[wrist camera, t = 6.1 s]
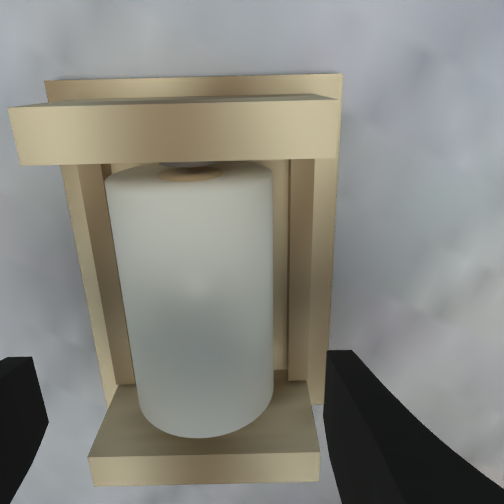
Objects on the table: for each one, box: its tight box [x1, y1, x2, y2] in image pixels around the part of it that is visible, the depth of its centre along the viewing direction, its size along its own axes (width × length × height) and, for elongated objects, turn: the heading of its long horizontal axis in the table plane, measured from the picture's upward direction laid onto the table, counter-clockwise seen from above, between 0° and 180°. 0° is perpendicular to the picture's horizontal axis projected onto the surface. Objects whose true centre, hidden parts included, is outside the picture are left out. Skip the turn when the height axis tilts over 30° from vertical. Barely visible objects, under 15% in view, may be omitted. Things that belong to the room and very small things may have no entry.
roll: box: [105, 161, 274, 438], centre depth 14 cm, size 8×5×5 cm, turn 1°
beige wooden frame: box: [8, 74, 343, 487], centre depth 15 cm, size 10×14×6 cm
